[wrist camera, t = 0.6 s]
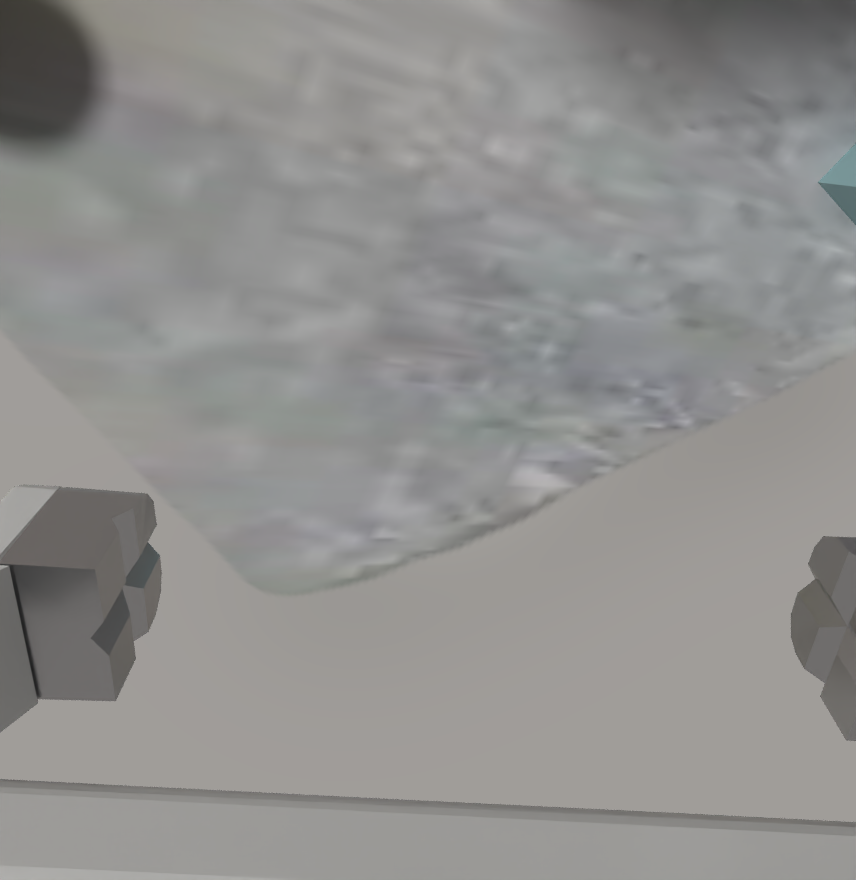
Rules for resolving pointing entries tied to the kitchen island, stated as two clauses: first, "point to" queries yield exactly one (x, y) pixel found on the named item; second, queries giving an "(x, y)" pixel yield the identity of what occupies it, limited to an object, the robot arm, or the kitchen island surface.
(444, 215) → the kitchen island surface
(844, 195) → the teal block
